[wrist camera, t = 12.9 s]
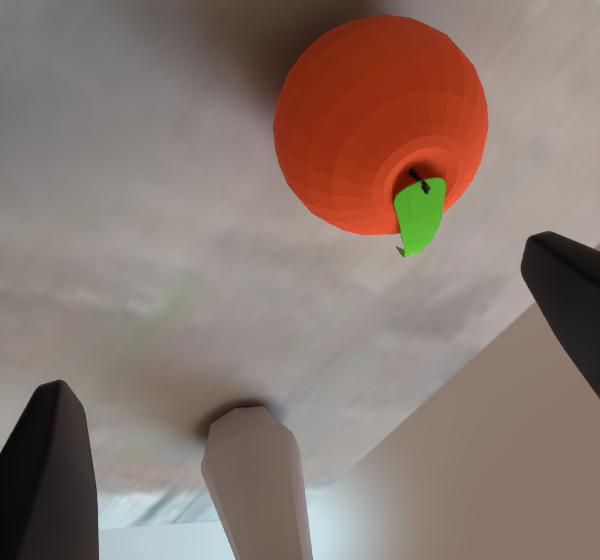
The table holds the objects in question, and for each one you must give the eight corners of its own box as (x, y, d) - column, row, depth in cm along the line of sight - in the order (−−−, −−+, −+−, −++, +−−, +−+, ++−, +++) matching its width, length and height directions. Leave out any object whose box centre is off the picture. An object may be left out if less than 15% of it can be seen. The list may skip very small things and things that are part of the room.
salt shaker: (266, 383, 32) (342, 632, 22) (301, 424, 36) (377, 649, 27) (177, 427, 32) (217, 690, 23) (221, 462, 36) (270, 698, 27)
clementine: (429, 159, 24) (521, 262, 19) (280, 209, 24) (334, 329, 19) (425, -41, 18) (555, 33, 13) (229, 21, 18) (287, 121, 13)
